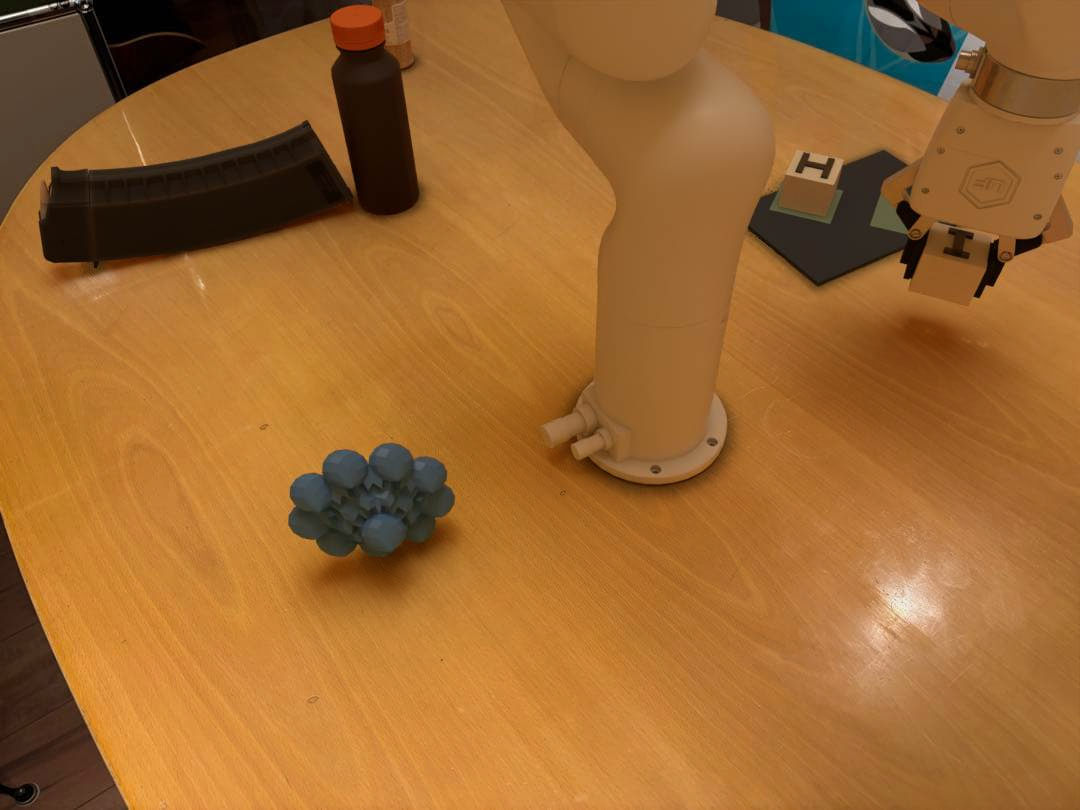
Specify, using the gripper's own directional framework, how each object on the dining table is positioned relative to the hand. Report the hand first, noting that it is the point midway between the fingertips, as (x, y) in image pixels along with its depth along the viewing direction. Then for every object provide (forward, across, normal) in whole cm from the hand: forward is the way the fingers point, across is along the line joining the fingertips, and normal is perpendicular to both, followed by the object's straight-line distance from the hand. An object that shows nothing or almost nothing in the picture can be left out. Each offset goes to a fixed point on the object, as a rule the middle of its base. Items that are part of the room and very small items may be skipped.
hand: (943, 277), depth 76 cm
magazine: (+8, -70, -15) cm, 72 cm away
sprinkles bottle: (+7, -71, +26) cm, 76 cm away
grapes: (+8, -32, -41) cm, 53 cm away
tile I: (+1, 0, 0) cm, 1 cm away
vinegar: (+8, -56, -1) cm, 57 cm away
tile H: (+6, -14, +15) cm, 22 cm away
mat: (+6, -9, +15) cm, 19 cm away
